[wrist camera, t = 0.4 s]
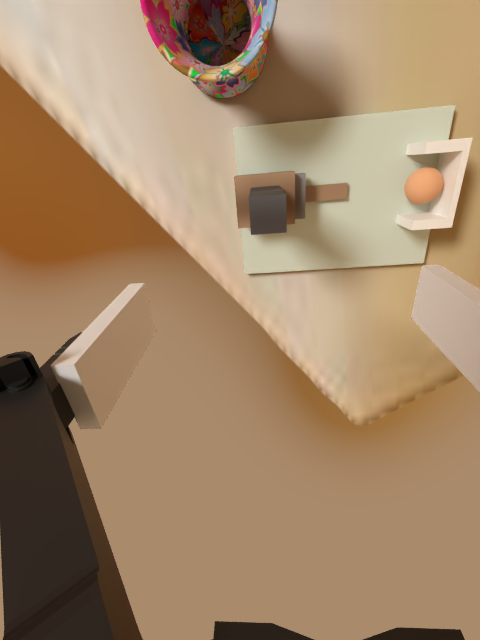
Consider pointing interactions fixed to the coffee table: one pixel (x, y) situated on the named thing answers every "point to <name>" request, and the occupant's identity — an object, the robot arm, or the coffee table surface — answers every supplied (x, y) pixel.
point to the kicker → (270, 201)
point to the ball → (423, 185)
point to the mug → (213, 40)
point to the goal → (453, 173)
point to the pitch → (343, 188)
